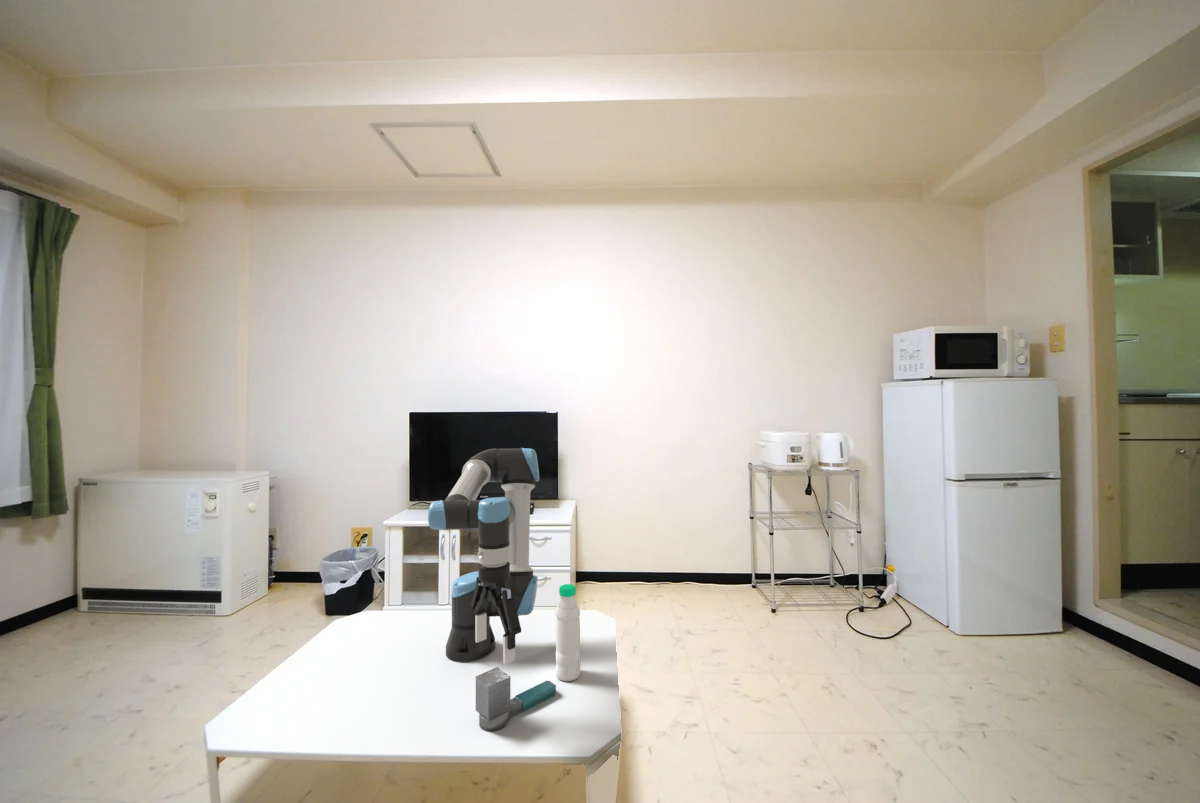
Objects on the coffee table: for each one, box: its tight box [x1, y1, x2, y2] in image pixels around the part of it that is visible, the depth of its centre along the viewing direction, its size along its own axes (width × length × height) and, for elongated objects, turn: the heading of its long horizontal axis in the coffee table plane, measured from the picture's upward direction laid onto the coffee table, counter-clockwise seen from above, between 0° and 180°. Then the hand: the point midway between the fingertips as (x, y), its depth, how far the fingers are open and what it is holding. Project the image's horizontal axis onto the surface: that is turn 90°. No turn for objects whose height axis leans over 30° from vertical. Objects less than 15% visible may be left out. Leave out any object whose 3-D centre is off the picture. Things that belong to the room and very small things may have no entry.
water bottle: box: [554, 583, 581, 682], centre depth 130 cm, size 7×7×25 cm
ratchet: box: [478, 680, 557, 733], centre depth 114 cm, size 21×7×6 cm, turn 133°
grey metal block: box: [475, 666, 511, 722], centre depth 110 cm, size 6×6×8 cm
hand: (494, 650), depth 111 cm, fingers open, 13 cm apart
